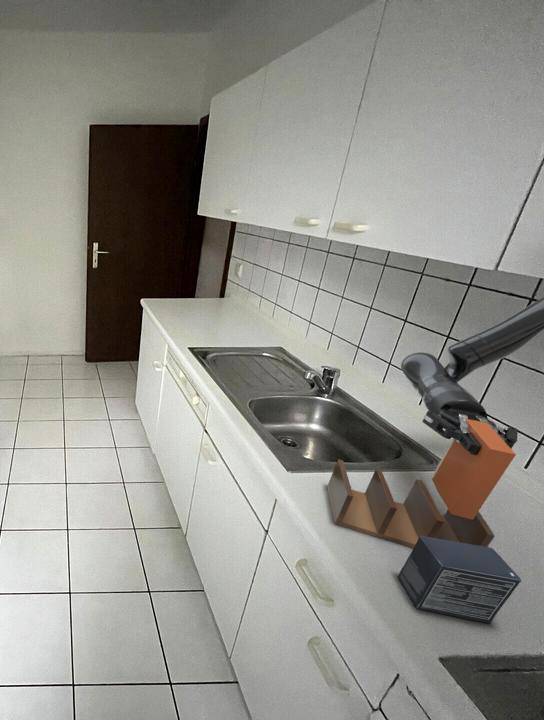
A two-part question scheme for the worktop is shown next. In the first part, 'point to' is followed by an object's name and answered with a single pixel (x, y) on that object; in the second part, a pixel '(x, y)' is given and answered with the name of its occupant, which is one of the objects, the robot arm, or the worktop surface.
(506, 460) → the book
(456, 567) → the small box
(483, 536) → the book rack
